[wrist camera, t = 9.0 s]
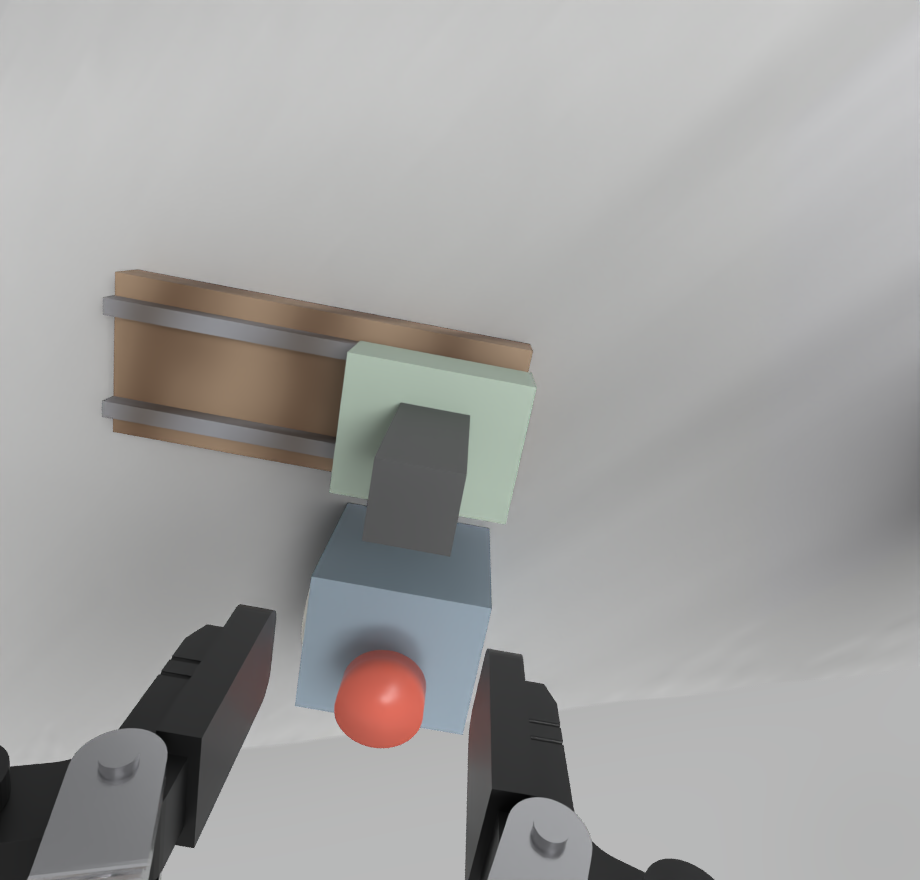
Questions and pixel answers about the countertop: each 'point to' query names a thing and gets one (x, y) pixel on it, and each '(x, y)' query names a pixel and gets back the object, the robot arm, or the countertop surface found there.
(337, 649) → the button box
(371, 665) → the button
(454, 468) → the carriage
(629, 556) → the countertop surface
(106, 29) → the countertop surface
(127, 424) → the rail track
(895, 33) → the countertop surface
